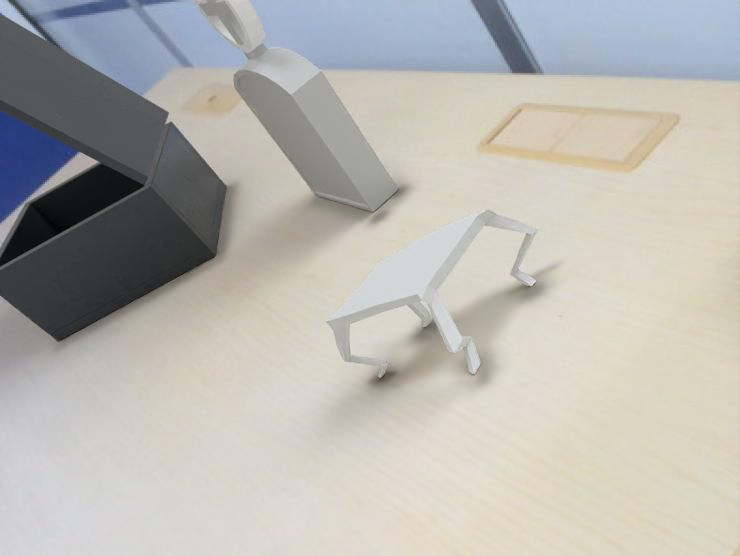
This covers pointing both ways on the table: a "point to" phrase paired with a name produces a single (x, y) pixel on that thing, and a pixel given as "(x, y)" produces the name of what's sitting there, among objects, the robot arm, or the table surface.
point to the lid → (77, 103)
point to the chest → (111, 237)
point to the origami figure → (423, 284)
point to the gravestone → (301, 112)
